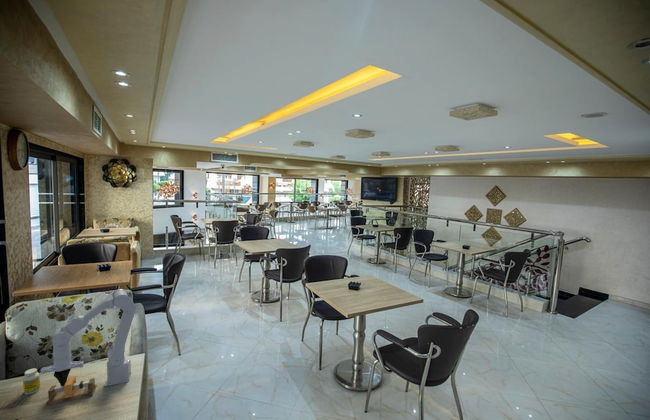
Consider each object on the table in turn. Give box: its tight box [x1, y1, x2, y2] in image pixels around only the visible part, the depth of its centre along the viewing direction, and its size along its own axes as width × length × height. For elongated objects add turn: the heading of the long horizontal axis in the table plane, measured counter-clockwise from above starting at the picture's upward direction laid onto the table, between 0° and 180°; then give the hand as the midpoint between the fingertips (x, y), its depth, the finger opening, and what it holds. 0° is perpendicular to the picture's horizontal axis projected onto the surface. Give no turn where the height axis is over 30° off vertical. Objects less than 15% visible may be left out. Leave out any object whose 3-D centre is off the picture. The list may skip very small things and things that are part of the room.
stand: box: [45, 377, 97, 406], centre depth 135 cm, size 16×7×5 cm, turn 114°
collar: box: [64, 375, 77, 398], centre depth 135 cm, size 2×6×6 cm, turn 24°
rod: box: [54, 379, 94, 393], centre depth 135 cm, size 16×2×2 cm, turn 114°
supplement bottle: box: [22, 367, 41, 395], centre depth 137 cm, size 5×5×10 cm
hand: (63, 384), depth 134 cm, fingers closed
